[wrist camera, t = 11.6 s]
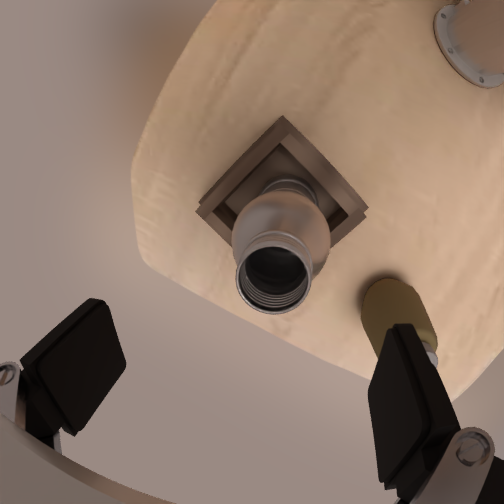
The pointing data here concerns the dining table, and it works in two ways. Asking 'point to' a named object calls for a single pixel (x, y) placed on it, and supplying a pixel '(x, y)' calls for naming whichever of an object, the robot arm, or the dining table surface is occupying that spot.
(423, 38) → the dining table surface
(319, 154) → the bottle caddy
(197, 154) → the dining table surface
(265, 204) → the plastic bottle
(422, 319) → the squeeze bottle
